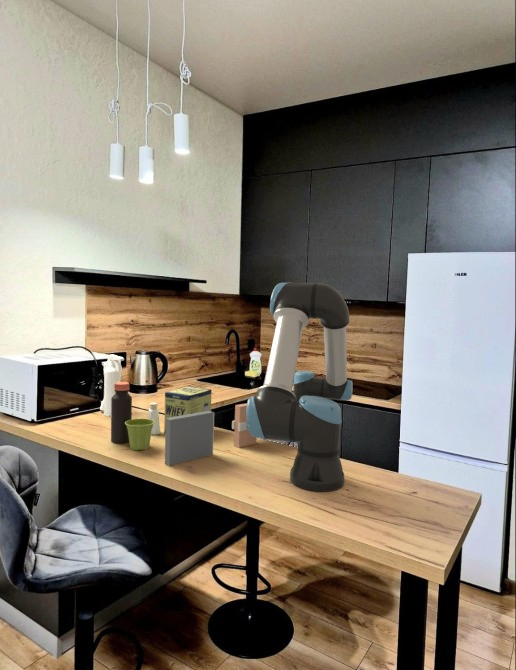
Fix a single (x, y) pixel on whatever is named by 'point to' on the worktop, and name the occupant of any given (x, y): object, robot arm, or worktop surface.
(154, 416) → the pepper shaker
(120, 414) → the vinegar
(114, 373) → the white spray bottle
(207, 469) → the worktop surface
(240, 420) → the stub
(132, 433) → the plant pot
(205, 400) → the protein box
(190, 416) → the board
